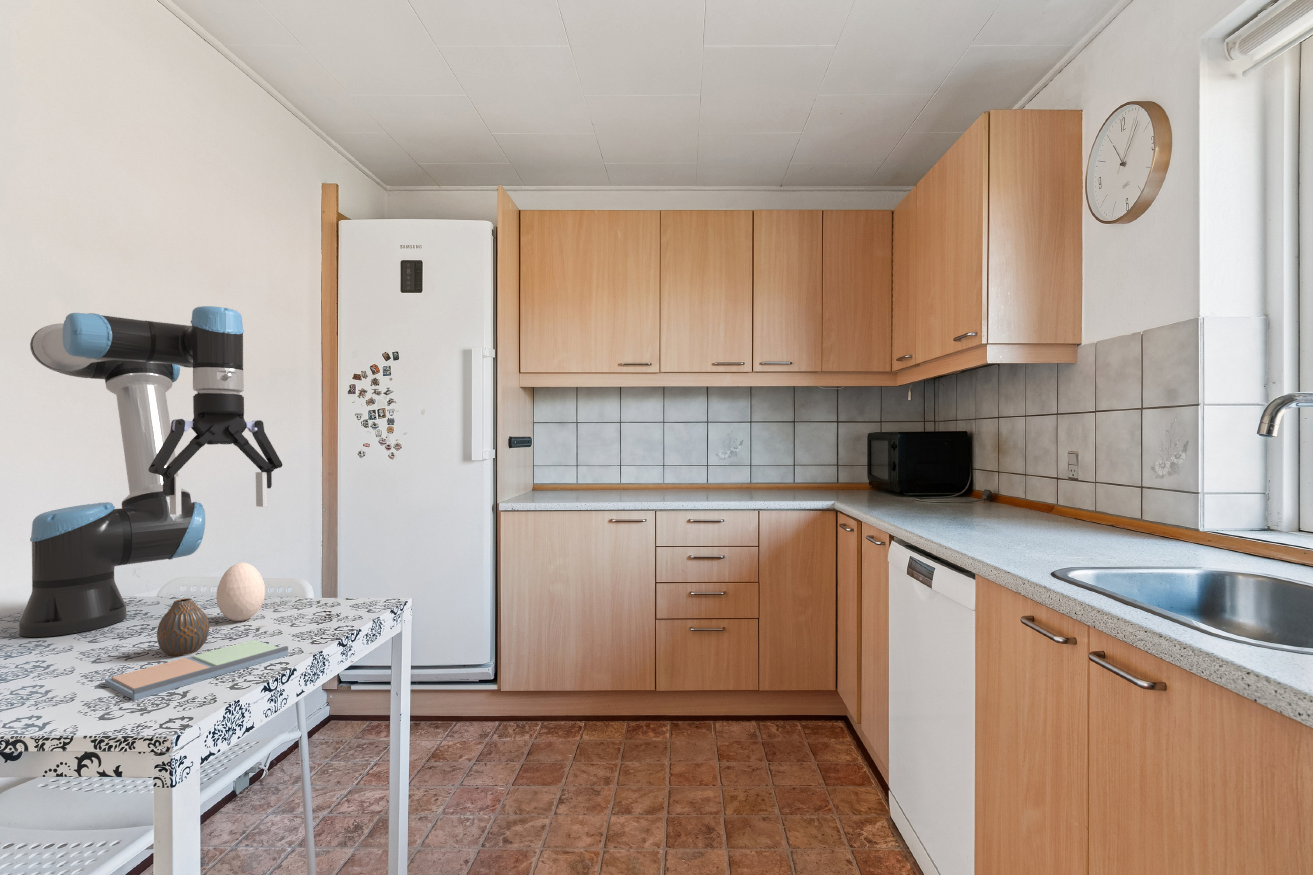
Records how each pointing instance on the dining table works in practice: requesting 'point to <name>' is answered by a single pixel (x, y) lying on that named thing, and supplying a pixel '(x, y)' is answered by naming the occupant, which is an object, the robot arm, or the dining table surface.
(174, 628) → the vase
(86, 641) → the dining table surface
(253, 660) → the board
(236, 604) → the egg
